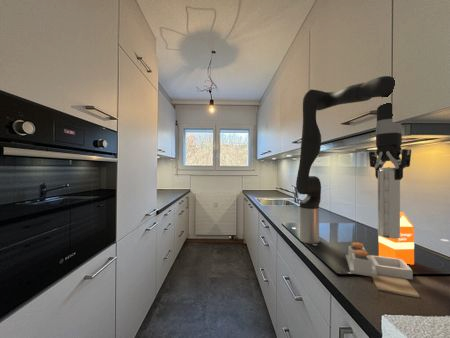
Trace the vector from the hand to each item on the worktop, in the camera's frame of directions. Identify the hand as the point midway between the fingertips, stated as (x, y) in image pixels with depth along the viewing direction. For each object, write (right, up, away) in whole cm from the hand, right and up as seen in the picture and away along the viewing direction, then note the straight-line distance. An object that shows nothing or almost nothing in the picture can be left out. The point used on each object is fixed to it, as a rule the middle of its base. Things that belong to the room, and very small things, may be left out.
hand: (388, 179), depth 80 cm
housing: (-3, -33, +2) cm, 33 cm away
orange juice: (+10, -33, +9) cm, 36 cm away
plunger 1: (-7, -31, +8) cm, 33 cm away
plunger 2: (-10, -31, 0) cm, 33 cm away
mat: (-6, -33, -10) cm, 35 cm away
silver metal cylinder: (0, -21, 0) cm, 21 cm away
